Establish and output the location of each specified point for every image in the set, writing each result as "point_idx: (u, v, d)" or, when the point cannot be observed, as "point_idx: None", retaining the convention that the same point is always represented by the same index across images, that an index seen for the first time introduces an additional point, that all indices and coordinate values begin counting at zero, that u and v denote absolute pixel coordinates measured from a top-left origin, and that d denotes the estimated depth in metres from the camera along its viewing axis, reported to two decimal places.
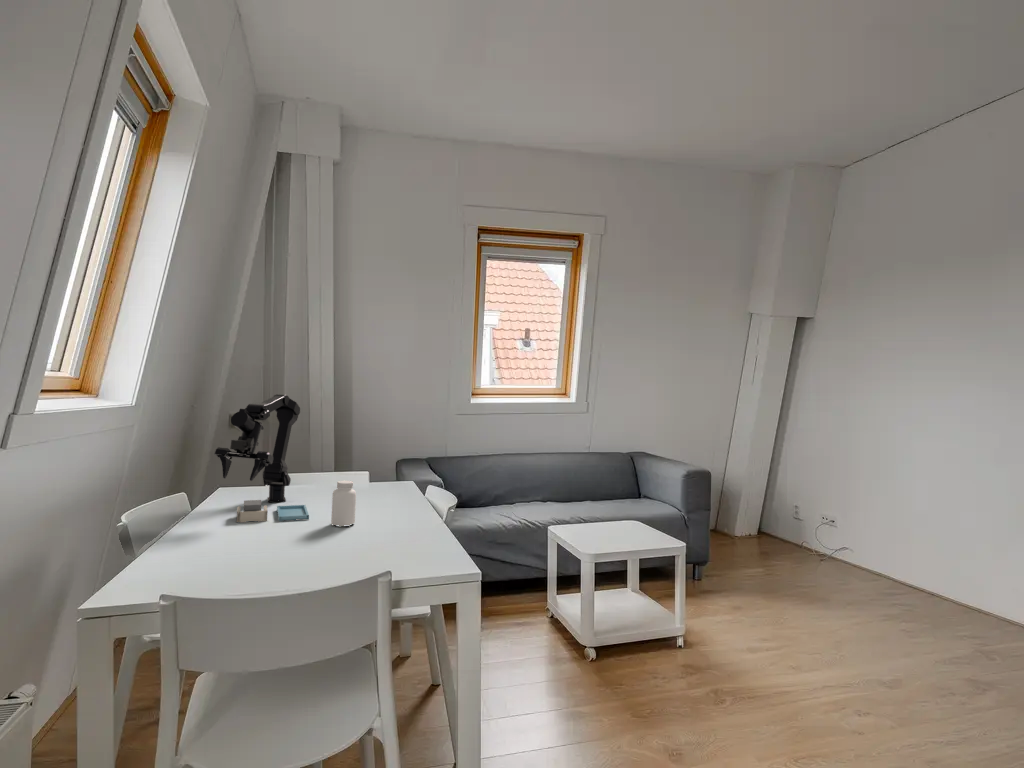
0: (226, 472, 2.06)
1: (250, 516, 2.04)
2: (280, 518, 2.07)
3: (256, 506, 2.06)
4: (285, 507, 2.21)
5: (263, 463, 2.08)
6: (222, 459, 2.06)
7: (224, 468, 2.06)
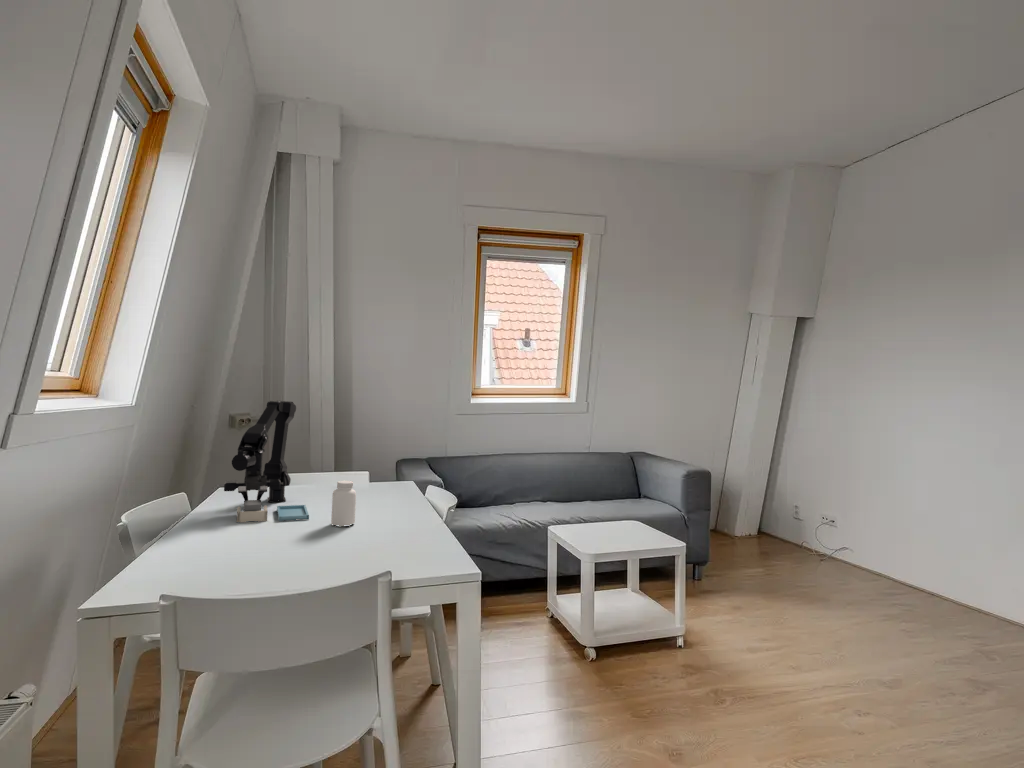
0: None
1: (250, 516, 2.04)
2: (280, 518, 2.07)
3: (256, 506, 2.06)
4: (285, 507, 2.21)
5: None
6: (243, 494, 2.12)
7: None
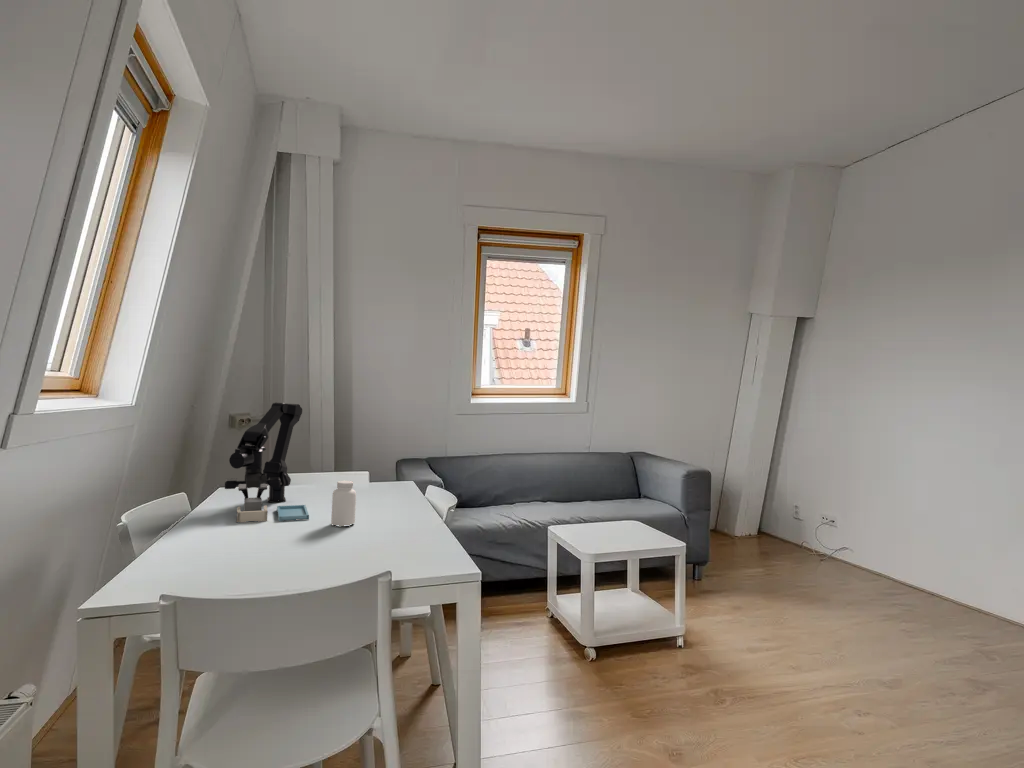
0: None
1: (250, 516, 2.04)
2: (280, 518, 2.07)
3: (257, 503, 2.10)
4: (285, 507, 2.21)
5: None
6: (244, 491, 2.16)
7: None
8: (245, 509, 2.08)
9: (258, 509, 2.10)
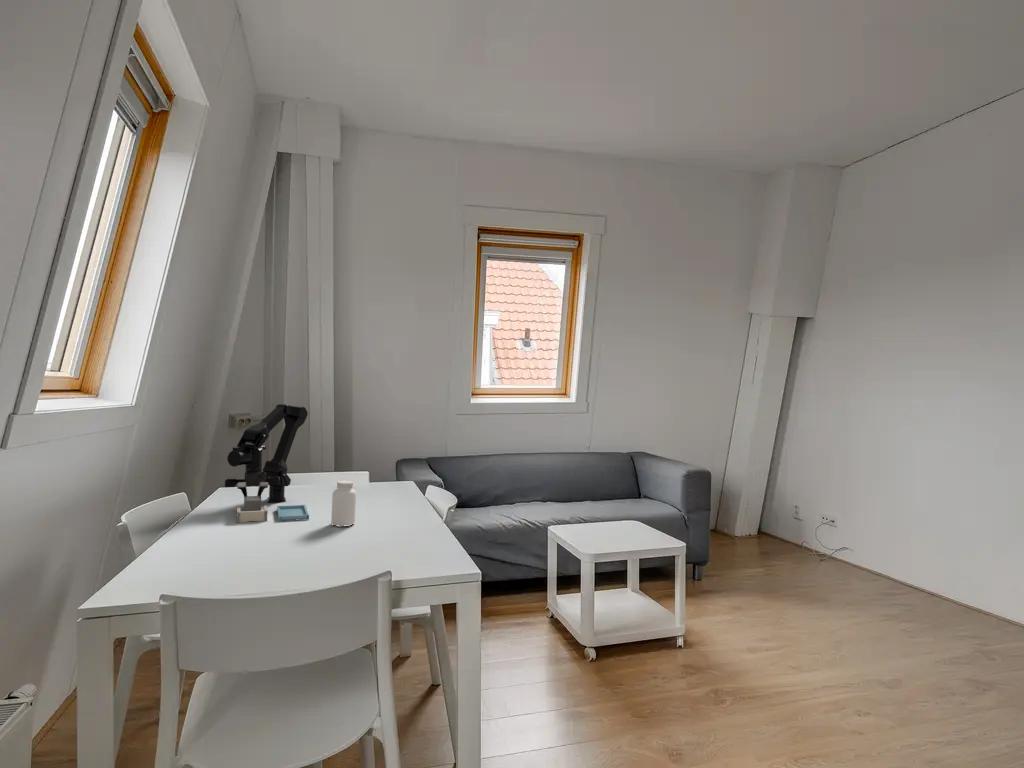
0: None
1: (250, 516, 2.04)
2: (280, 518, 2.07)
3: (256, 502, 2.12)
4: (285, 507, 2.21)
5: None
6: (243, 489, 2.18)
7: None
8: (245, 507, 2.10)
9: (258, 507, 2.12)
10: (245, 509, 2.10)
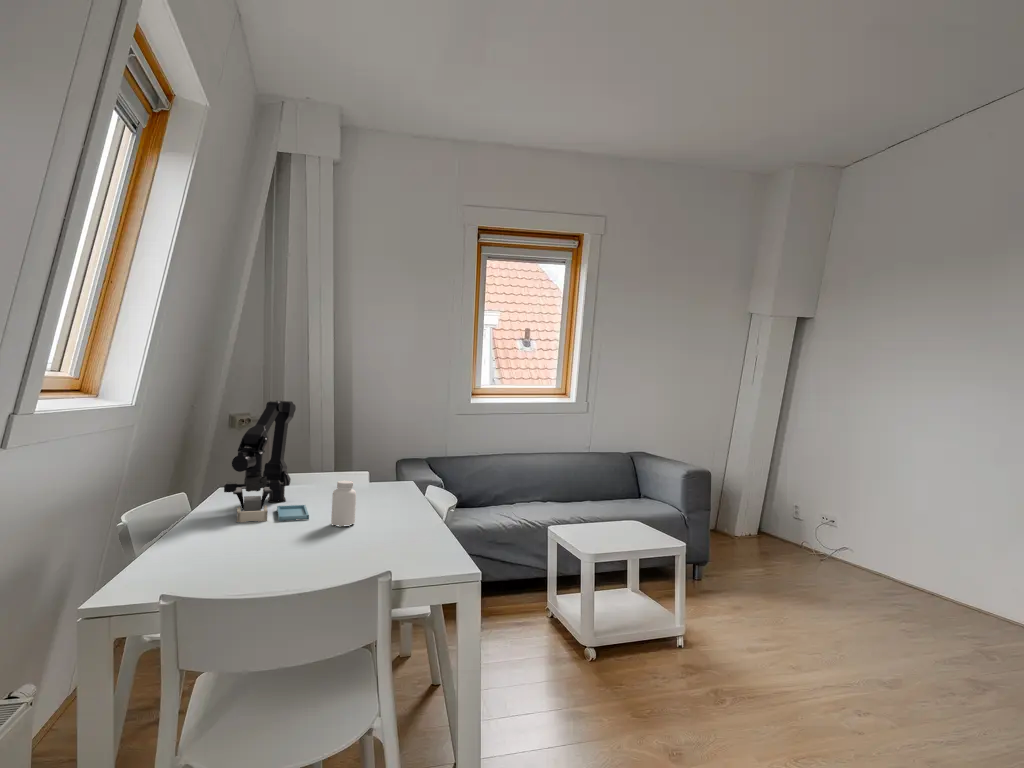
0: (243, 504, 2.14)
1: (250, 516, 2.04)
2: (280, 518, 2.07)
3: (256, 502, 2.12)
4: (285, 507, 2.21)
5: None
6: (239, 495, 2.11)
7: (242, 502, 2.13)
8: (245, 507, 2.10)
9: (258, 507, 2.12)
10: (245, 509, 2.10)
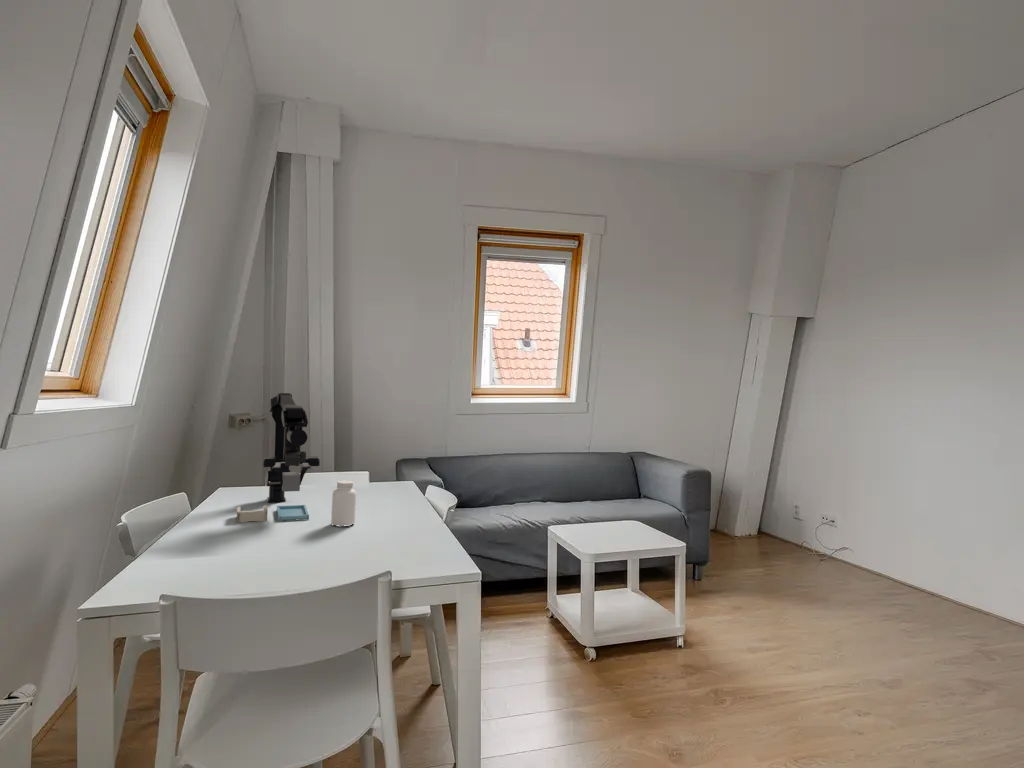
0: None
1: (250, 516, 2.04)
2: (280, 518, 2.07)
3: (295, 477, 2.09)
4: (285, 507, 2.21)
5: None
6: (278, 470, 2.09)
7: (281, 477, 2.10)
8: (284, 483, 2.08)
9: (297, 483, 2.10)
10: (284, 484, 2.08)
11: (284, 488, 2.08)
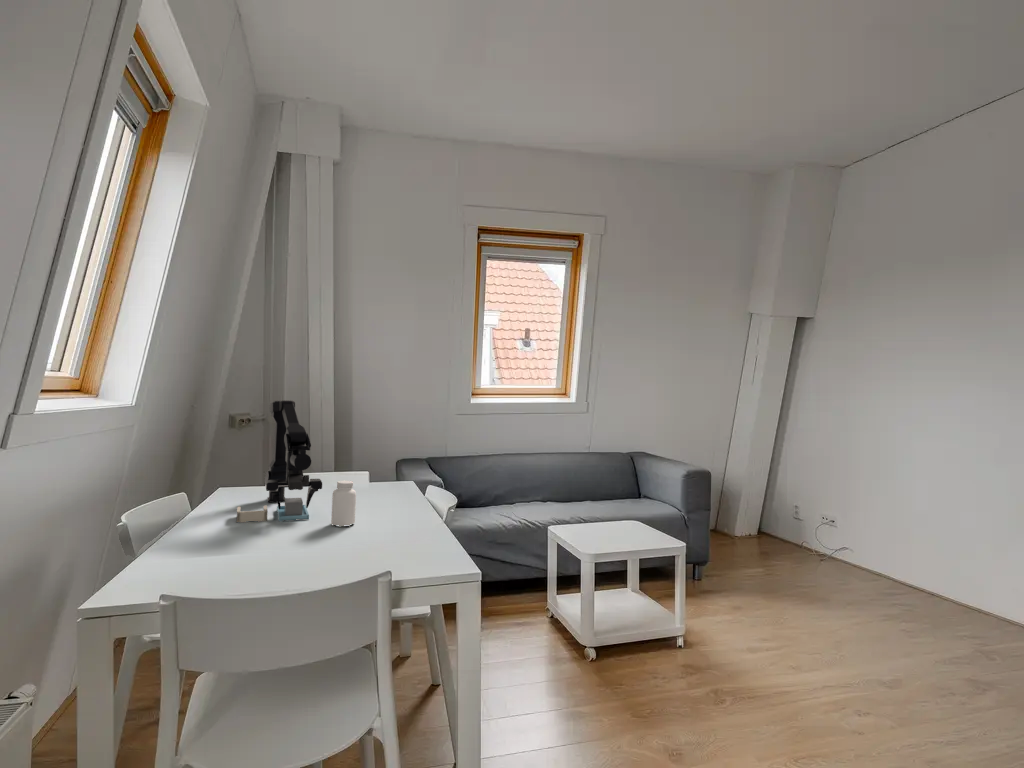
0: None
1: (250, 516, 2.04)
2: (280, 518, 2.07)
3: (298, 503, 2.10)
4: None
5: None
6: (275, 494, 2.09)
7: (278, 501, 2.10)
8: (286, 509, 2.08)
9: (299, 509, 2.10)
10: (287, 511, 2.08)
11: (287, 515, 2.09)
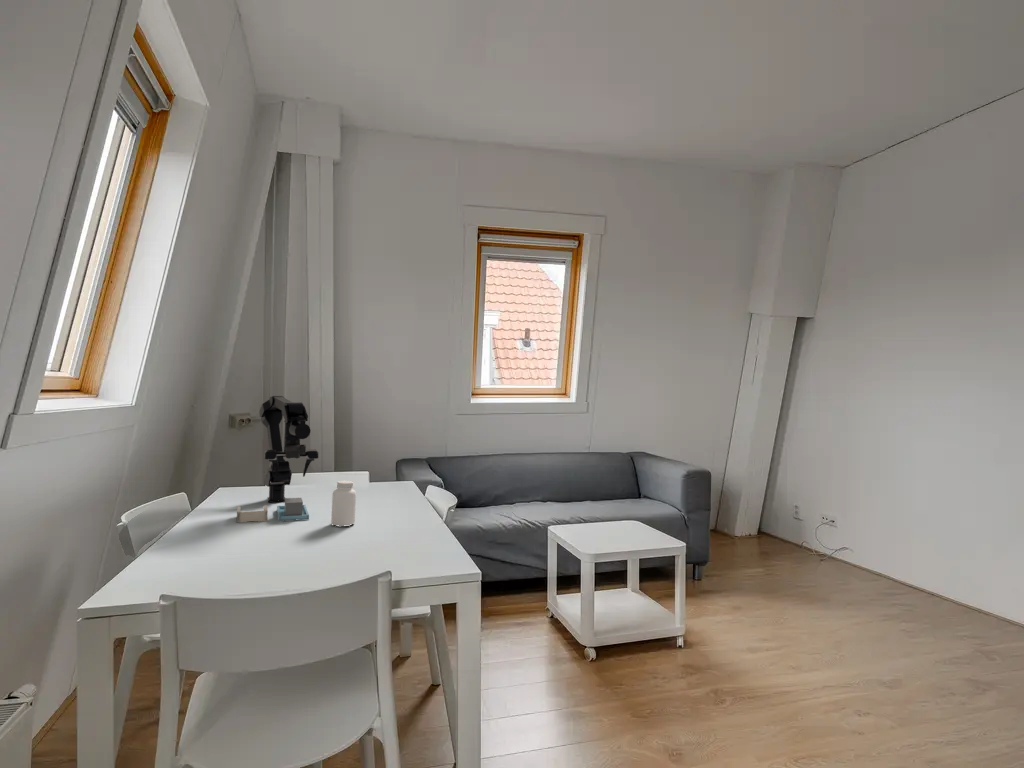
0: (278, 471, 2.22)
1: (250, 516, 2.04)
2: (280, 518, 2.07)
3: (298, 503, 2.10)
4: None
5: None
6: (274, 462, 2.19)
7: (277, 469, 2.20)
8: (286, 509, 2.08)
9: (299, 509, 2.10)
10: (287, 511, 2.08)
11: (287, 515, 2.09)
